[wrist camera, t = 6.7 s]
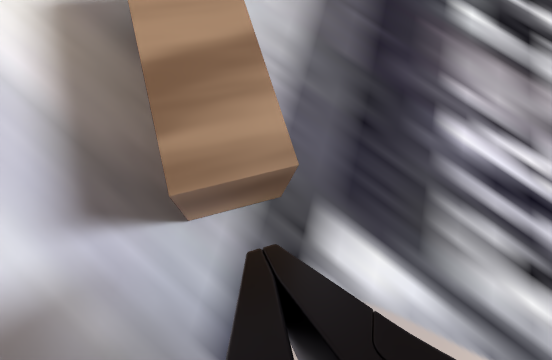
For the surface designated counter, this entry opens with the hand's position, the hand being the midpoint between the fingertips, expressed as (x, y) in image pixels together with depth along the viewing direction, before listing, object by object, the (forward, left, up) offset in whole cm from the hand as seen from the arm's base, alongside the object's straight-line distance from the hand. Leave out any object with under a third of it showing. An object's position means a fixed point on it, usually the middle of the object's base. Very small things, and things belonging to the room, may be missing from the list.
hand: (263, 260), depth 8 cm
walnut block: (+3, -2, -5) cm, 6 cm away
